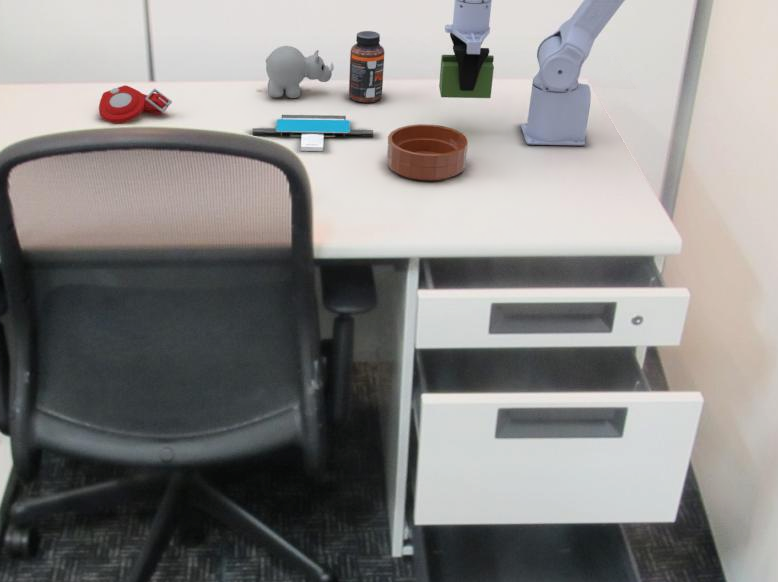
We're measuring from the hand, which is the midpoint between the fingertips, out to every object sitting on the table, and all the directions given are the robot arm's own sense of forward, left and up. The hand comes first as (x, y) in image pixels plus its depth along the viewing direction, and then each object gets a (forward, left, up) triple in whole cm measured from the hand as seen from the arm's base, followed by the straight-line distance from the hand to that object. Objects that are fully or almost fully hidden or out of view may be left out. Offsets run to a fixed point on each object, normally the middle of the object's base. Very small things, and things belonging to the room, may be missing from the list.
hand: (465, 83), depth 182 cm
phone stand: (+25, +3, -8) cm, 26 cm away
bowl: (+7, +14, -8) cm, 18 cm away
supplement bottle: (+16, -15, -8) cm, 23 cm away
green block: (0, 0, -1) cm, 1 cm away
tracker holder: (+56, -5, -8) cm, 57 cm away
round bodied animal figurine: (+28, -16, -8) cm, 33 cm away
